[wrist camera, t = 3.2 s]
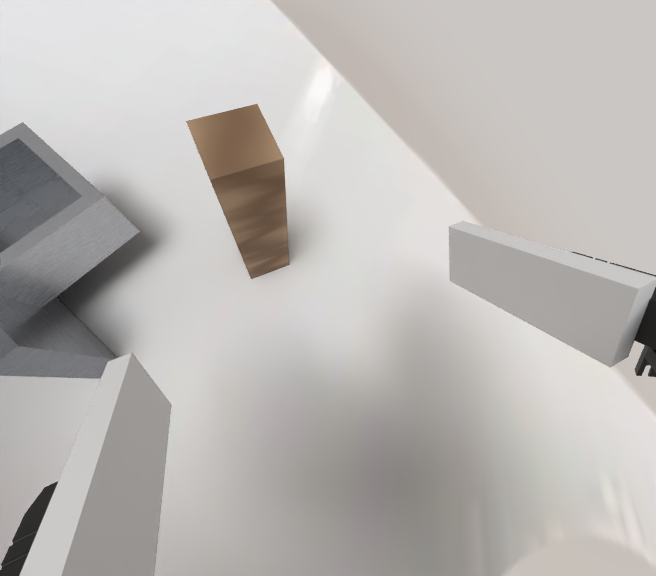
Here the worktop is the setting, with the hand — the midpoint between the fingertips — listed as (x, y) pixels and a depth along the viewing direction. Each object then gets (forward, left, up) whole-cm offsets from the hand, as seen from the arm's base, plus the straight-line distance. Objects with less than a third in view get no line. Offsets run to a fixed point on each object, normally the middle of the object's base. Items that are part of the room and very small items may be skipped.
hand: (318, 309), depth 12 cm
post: (-10, +5, -17) cm, 20 cm away
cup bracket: (-22, -6, -17) cm, 28 cm away
